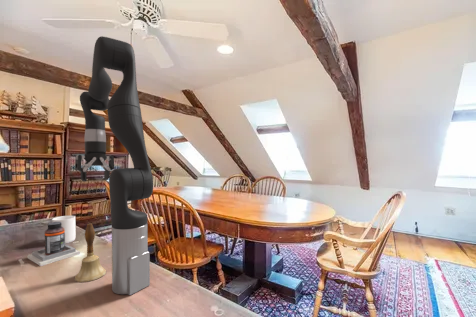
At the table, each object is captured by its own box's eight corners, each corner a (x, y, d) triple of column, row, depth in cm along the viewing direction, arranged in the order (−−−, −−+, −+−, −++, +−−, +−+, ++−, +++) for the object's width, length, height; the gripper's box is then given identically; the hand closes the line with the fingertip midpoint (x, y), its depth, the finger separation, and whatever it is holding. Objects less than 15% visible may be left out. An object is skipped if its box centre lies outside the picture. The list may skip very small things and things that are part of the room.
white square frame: (79, 254, 90) (79, 248, 90) (40, 266, 80) (40, 259, 80) (65, 247, 97) (65, 242, 97) (27, 258, 87) (27, 252, 87)
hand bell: (69, 283, 69) (68, 228, 69) (81, 270, 77) (81, 221, 77) (100, 280, 71) (100, 226, 71) (109, 268, 79) (109, 219, 79)
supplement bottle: (47, 251, 90) (47, 221, 90) (66, 249, 93) (66, 219, 93) (42, 257, 85) (42, 225, 85) (62, 254, 87) (62, 223, 87)
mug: (45, 240, 105) (45, 217, 105) (66, 235, 112) (66, 213, 112) (57, 246, 99) (56, 221, 99) (79, 240, 106) (79, 216, 106)
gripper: (80, 139, 90) (80, 182, 90) (117, 141, 102) (117, 179, 102) (71, 140, 95) (72, 181, 94) (108, 142, 106) (108, 179, 106)
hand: (95, 180), depth 98 cm, fingers open, 8 cm apart
